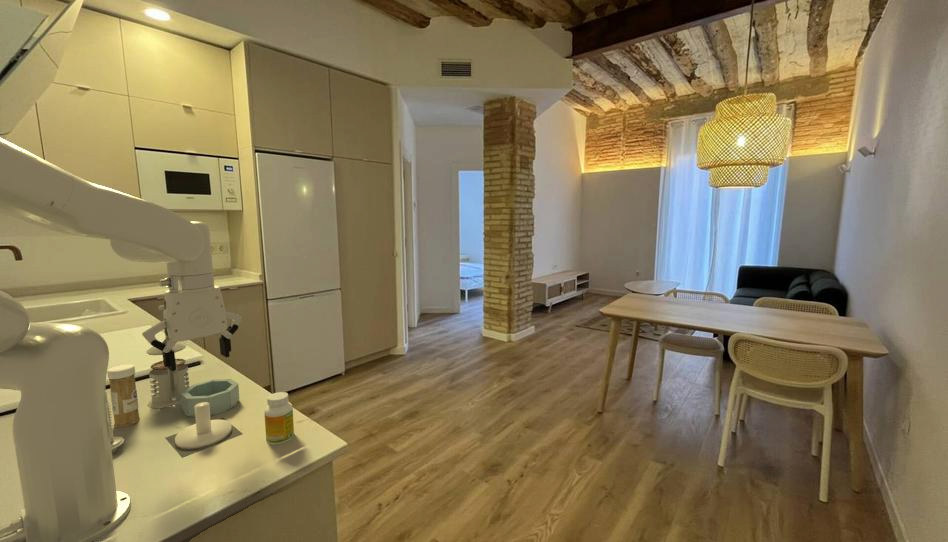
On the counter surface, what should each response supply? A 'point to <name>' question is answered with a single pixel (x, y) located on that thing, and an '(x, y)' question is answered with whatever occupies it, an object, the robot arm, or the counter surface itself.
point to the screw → (115, 440)
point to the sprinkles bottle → (123, 395)
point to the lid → (203, 430)
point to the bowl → (211, 396)
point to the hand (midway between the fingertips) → (199, 362)
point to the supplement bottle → (279, 419)
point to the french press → (167, 378)
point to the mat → (187, 452)
